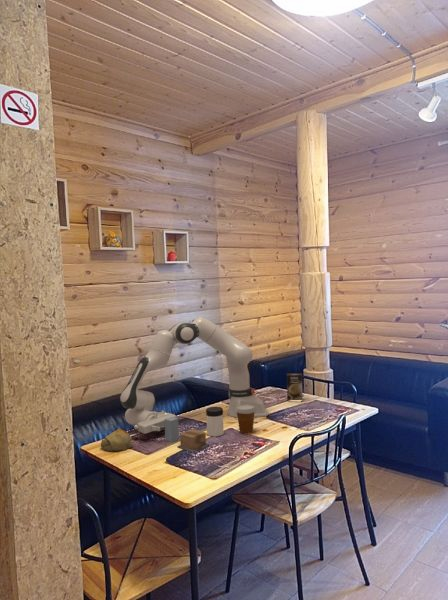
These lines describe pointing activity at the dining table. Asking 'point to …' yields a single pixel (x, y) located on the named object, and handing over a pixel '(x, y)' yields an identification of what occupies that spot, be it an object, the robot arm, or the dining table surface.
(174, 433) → the pillar
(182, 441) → the plinth
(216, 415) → the jar
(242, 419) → the disposable coffee cup
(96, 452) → the dining table surface
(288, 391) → the coffee box
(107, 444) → the olive brown rounded lump
